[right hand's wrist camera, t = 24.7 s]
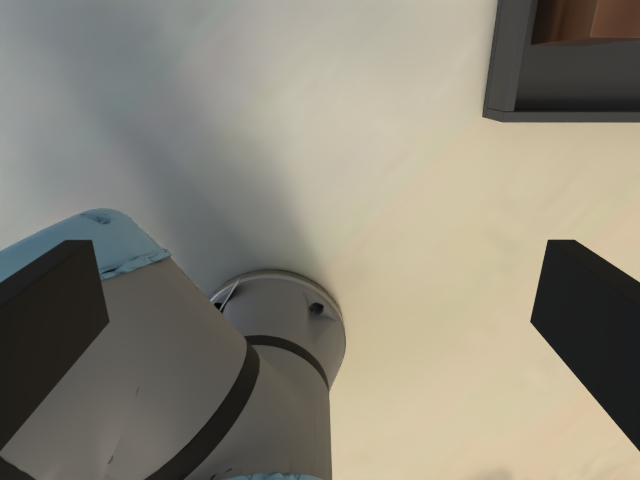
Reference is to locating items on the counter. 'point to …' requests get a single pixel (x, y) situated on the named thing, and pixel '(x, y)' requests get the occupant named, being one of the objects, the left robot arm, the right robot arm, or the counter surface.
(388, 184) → the counter surface
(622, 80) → the tray
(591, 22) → the block
